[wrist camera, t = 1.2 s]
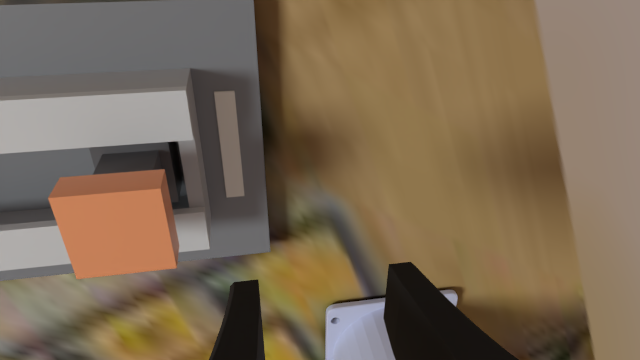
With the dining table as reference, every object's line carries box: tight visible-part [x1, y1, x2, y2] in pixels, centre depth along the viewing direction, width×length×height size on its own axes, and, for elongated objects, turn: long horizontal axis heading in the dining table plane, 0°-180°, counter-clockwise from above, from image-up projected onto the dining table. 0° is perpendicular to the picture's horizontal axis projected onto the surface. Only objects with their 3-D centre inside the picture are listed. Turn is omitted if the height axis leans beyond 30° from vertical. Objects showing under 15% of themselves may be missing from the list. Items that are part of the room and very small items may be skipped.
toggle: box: [48, 141, 182, 279], centre depth 17 cm, size 3×3×6 cm
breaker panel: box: [0, 0, 270, 281], centre depth 19 cm, size 12×16×3 cm
